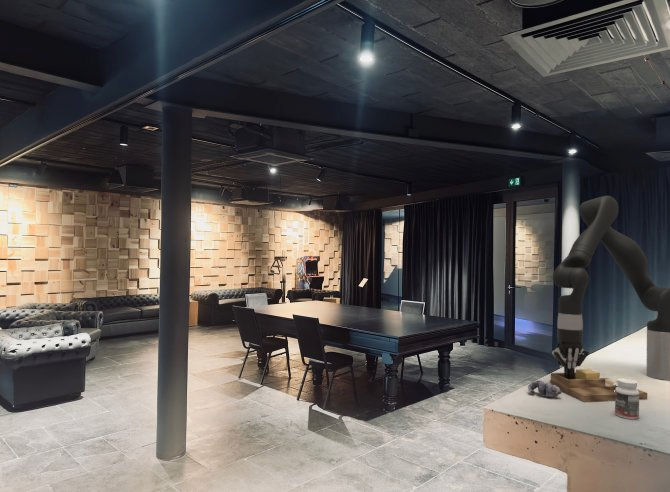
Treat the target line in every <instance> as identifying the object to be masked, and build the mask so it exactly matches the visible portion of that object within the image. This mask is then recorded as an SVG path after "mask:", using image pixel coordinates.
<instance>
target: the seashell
mask: <svg viewBox="0 0 670 492" xmlns="http://www.w3.org/2000/svg"><path fill="white" fill-rule="evenodd" d="M535 389H537V391H538V394H539V395H540V396H542V397H548V398H549V399H550V398H553V397H558V396H559V395H561V394H562V393H563V392H562V391H561V390H560V388H559V387H557V386H556V385H552V384H550V382H544V381H543V380H535V381H532V382H530V383H529V384H528V385H527V390H528V393H529V394H530V395H531V396H534V395H535V394H536V392H535V391H534V390H535Z"/></svg>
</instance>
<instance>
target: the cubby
mask: <svg viewBox="0 0 670 492" xmlns="http://www.w3.org/2000/svg"><path fill="white" fill-rule="evenodd" d="M604 378H605V377H600V378H598V379H576V371H575V376H574V378H573V379H571V380H569V379H566V378H565V376H564V372H550V380H551V381H553V382H555V383H557V384H560V385H562V386H564V387H566V388H589V387H605V379H604Z"/></svg>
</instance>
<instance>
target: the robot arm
mask: <svg viewBox="0 0 670 492" xmlns="http://www.w3.org/2000/svg"><path fill="white" fill-rule="evenodd" d="M579 214H580V217H581V219H582V221H583V222H584V223H585V224H586V226H587V228H586V229H585V230H584V231H583V232H582V233H581V234H580V235H579V236H577V238H576V239H575V241H574V242H573V244H572V246H571V248H570V249H569V253H568V255H567V256H566V257H565V258H564V259H563V260H562V262H560V263H559V265H557V267H556V268H555V270H554V272H553V275H552V281H553V283H554V285H555V286H556V287H559V288H562V289H572V292H571V293H569V294H565V295H561V296H559V298H558V314H557V315H558V316H557V332H556V333H557V338H556V339H557V344H556V348H555V349H554V350H551V351H550V354H551V356H552V357H553V359H554V360H555V361H556V364H557V365H559V366H561V367H563V373H564V376H565V378H566V379H569V380H571V379H573V378H574V376H575V372H576V368H578V367H581V365H582V364H583V363H584V362H585V360H586V358H587V357H588V356H589V355H590V354H589V351H588V350H585V349H584V348H583V347H584V346H583V345H582V342H583V335H584V333H583V332H584V331H583V329H584V320H583V302H584V297H585V294H586V290H587V287H588V284H589V281H590V278H589V274H588V272H587V270H586V268H587V267H589V265H590V263H591V262H592V258H593V255H594V254H595V251H596V249H597V247H598V245H599V244H600V242H601V244H603V246H604V247H605V249H606V250H607V251H608V252H609V254H610V255H611V258H612V259H613V260H614V261H615V263H616V264H617V266H618V267H619V269H620V270H621V271H622V273H624V275H625V277H626V278H627V280H628V281H629V283H630V284H631V285H632V287H633V289H634V291H635V293H636V295H637V297H638V298H639V300H640V302H641V303H642V305H643V306H644V307H645V308H646V309H647V310H649V311H652V312H657V317H656V318H655V319H653V320H649V321H647V323H646V376H648V377H650V378H653V379H658V380H665V381H670V287H662V286H661V287H660V286H657V285H656V284H655V283H654V282H653V281H652V279H651V278H650V276H649V273H648V258H647V256H646V254H645V253H644V251H643V250H642V248H641V247H640V245H639V244H638V243H637V242H636V241H635V240H633V239H632V238H630V237H628V236H627V235H625V234H623V233H621V232H619V231H617V230H615V229H614V228H613V227H612V226H611V225H612V224H613V223H614V221H615V219H617V216H618V214H619V204H618V202H617V200H616V199H615V198H614V197H612V196H610V195H603V196H599V197H596V198H595V197H594V198H592V199H589V200H586V201H583V202H582V203H581V204H580V206H579Z"/></svg>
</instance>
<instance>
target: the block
mask: <svg viewBox="0 0 670 492" xmlns="http://www.w3.org/2000/svg"><path fill="white" fill-rule="evenodd" d="M575 372H576V379H598V378H601V376H600V372H598V371H596V370H592V369H590V368H585V369H584V368H583V369H582V368H579V369H576V368H575Z"/></svg>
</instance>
